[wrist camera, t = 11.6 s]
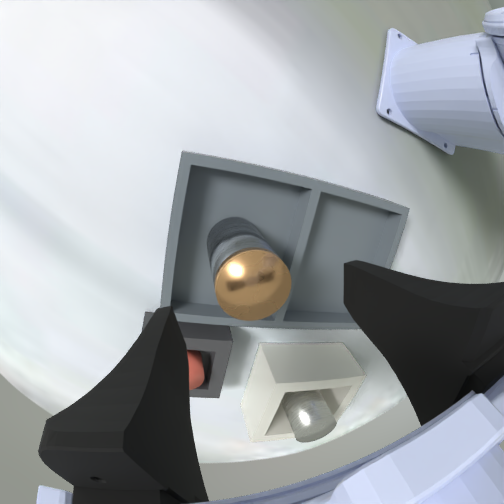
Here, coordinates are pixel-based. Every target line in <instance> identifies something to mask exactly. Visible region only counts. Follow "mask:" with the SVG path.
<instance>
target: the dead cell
mask: <svg viewBox="0 0 504 504" xmlns="http://www.w3.org/2000/svg"><path fill="white" fill-rule="evenodd" d="M281 403H282V406H283V408H284V411H285V413H286V416H287V418H288V420H289V423H290V425H291V428H292V430H293V433H294V435H295V438H296V440H297V441H299V442H311V441H315V440H318V439H320V438H322V437H324V436H326V435H327V434H329V433H330V432H331V431H332V430H333V429H334V428H335V426H336V424H337V422H336V420H335V418H334V416H333V414H332V412H331V410H330V409H329V407H328V405H327V403H326V401H325V400H324V398H323V396H322V394H321V392H320V390H319V389H318V390H307V391H295V392H285V394H284V396H283V398H282V400H281Z"/></svg>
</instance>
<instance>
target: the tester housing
mask: <svg viewBox="0 0 504 504" xmlns="http://www.w3.org/2000/svg"><path fill="white" fill-rule="evenodd" d="M153 314H154V313H152V312H145V316H144V322H143V327H142V331H143V330H144V328H145V327H146V325H147V323H148V322H149V320H150V319H151V317H152V316H153ZM178 324H179V327H180V330H181V332H182V335H183V338H184V340H185V343H186V347H187V350H199V351H200V353H201V355H202V362H203V369H204V381H203V383H202V384H201V385H200V386H199V387H197V388H195V389H192V390H189V396H190V397H201V398H219V397H220V393H221V389H222V384H223V380H224V376H225V372H226V368H227V364H228V360H229V355H230V351H231V347H232V343H233V340H232V336H231V332H230V328H229V326H227V325H214V324H202V323H191V322H181V321H178Z"/></svg>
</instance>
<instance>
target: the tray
mask: <svg viewBox="0 0 504 504" xmlns="http://www.w3.org/2000/svg"><path fill="white" fill-rule="evenodd" d="M409 209H410V208H407V207H404V206H402V205H399V204H397V203H394V202H391V201H388V200H385V199H382V198H379V197H376V196H373V195H370V194H366V193H363V192H360V191H357V190H353V189H350V188H347V187H343V186H340V185H336V184H333V183H329V182H325V181H322V180H318V179H314V178H310V177H307V176H303V175H299V174H295V173H291V172H287V171H282V170H278V169H274V168H270V167H265V166H261V165H256V164H251V163H247V162H242V161H237V160H232V159H227V158H221V157H216V156H210V155H205V154H199V153H193V152H187V151H182V154H181V159H180V165H179V170H178V175H177V181H176V187H175V192H174V199H173V205H172V211H171V218H170V225H169V232H168V239H167V247H166V255H165V264H164V273H163V283H162V294H161V306H160V308H162V307H167V306H172V307H173V310H174V313H175V316H176V319H177V321H181V322H191V323H202V324H214V325H227V326H242V327H260V328H285V329H361V328H360V327H359V326H358V325H357V323H356V322H355V321H354V320H353V318H352V317H351V315H350V313H349V312H348V310H347V308H346V307H345V305H344V303H343V295H344V263H346V262H350V261H354V260H359V261H364V262H368V263H371V264H375V265H378V266H381V267H384V268H388V269H390V267H391V264H392V262H393V259H394V256H395V253H396V250H397V247H398V244H399V241H400V238H401V235H402V232H403V229H404V226H405V223H406V220H407V216H408V213H409ZM229 217H240V218H244V219H246V220H248V221H250V222H251V223H252V224H253V225H254V226H255V227H256V228H257V230H258V231H259V232H260V233H261V235H262V236H263V237H264V238H265V240H266V241H267V242H268V243H269V245H270V246H271V247H272V248H273V250H274V251H275V252H276V253H277V255H278V256H279V257H280V259H281V260H282V261H283V262H284V264H285V265H286V266H287V268H288V270H289V272H290V275H291V290H290V293H289V296H288V298H287V300H286V301H285V303H284V304H283V305H282V307H281V308H280V309H279V310H277V311H276V312H275V313H273V314H272V315H270V316H268V317H266V318H263V319H260V320H254V321H244V320H239V319H236V318H233V317H231V316H230V315H228V314H227V313H226V312H225V311H224V310H223V309H222V308H221V307H220V305H219V303H218V301H217V297H216V293H215V288H214V283H213V278H212V273H211V268H210V262H209V257H208V252H207V245H206V243H207V237H208V234H209V232H210V230H211V229H212V227H213V226H214V225H215V224H216V223H218V222H219V221H221V220H223V219H225V218H229Z"/></svg>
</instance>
